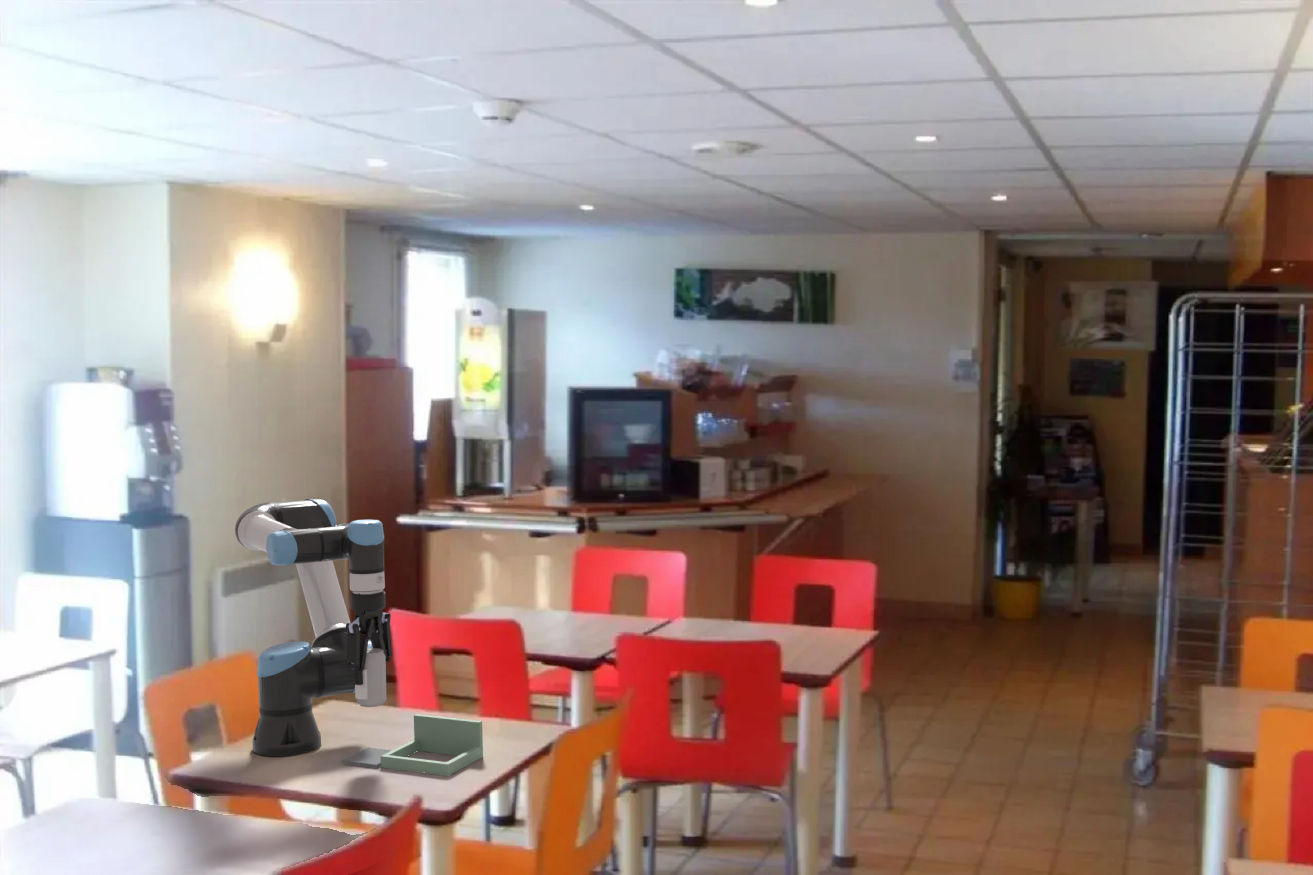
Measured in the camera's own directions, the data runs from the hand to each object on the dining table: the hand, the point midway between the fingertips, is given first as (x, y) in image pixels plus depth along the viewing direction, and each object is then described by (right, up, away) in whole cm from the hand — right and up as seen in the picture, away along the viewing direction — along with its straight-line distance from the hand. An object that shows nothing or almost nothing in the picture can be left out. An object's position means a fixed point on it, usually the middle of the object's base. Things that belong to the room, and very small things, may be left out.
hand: (370, 694), depth 297 cm
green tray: (+14, -14, -1) cm, 20 cm away
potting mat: (0, -14, +1) cm, 15 cm away
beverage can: (0, -2, 0) cm, 2 cm away
